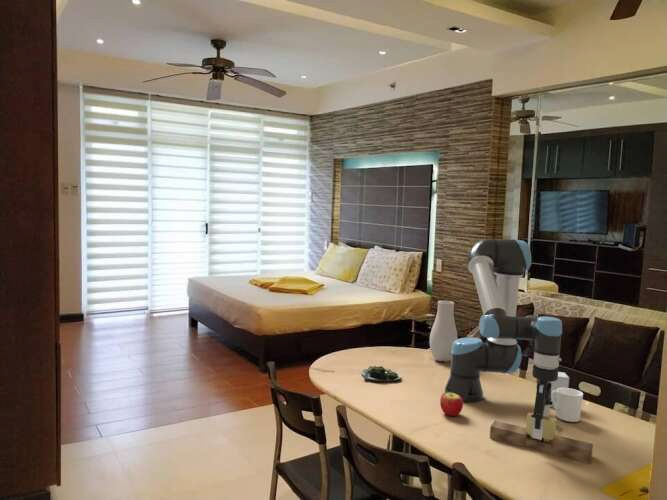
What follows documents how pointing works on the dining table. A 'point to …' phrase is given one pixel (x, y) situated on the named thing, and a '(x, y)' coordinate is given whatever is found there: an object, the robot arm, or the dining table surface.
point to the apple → (451, 403)
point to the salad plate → (380, 375)
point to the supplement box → (559, 385)
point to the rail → (542, 442)
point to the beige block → (548, 428)
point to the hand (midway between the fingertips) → (540, 430)
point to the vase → (443, 332)
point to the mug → (568, 404)
